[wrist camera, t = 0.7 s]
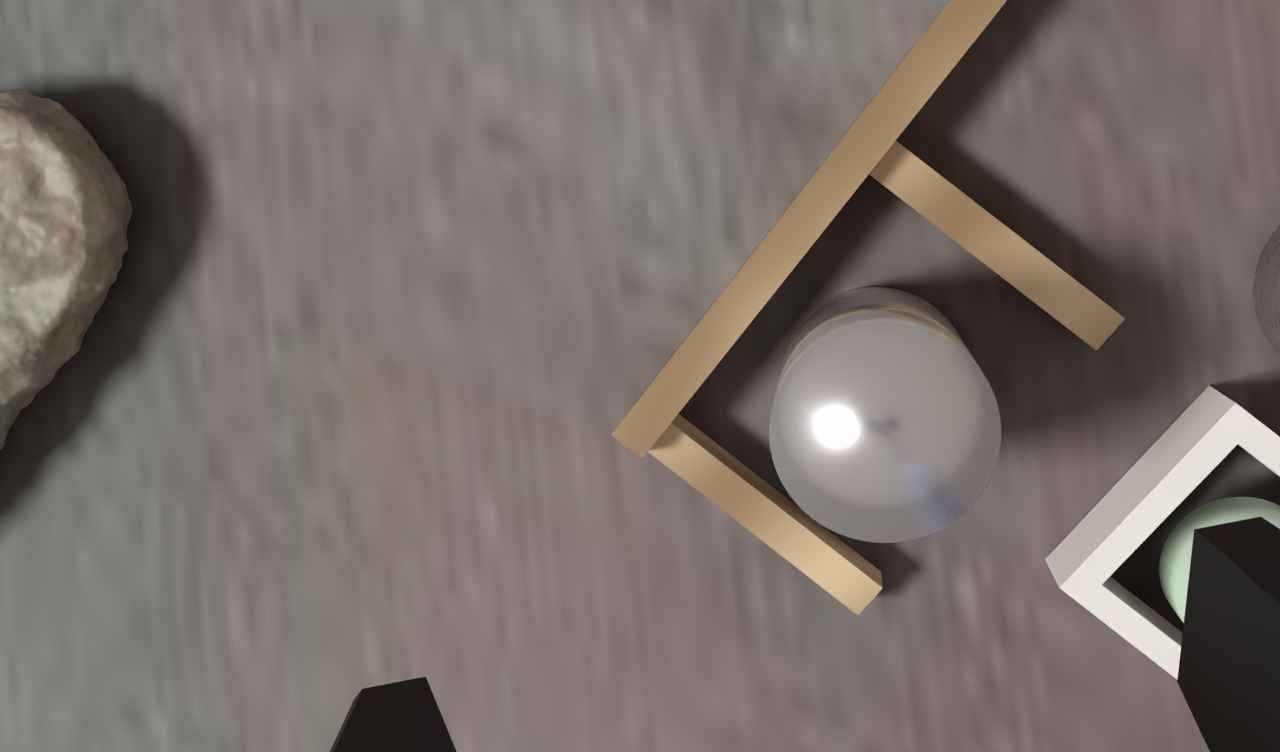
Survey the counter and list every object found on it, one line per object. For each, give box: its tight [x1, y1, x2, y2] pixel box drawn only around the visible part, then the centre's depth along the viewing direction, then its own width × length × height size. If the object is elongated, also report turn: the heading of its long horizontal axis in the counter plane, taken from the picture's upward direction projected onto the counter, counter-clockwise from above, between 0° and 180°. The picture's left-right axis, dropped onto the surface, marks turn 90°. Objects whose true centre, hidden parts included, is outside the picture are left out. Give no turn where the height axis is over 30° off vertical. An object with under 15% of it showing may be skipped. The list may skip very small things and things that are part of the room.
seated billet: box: [769, 287, 1001, 543], centre depth 27 cm, size 5×5×6 cm
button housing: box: [1045, 386, 1280, 679], centre depth 29 cm, size 6×6×2 cm
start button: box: [1159, 497, 1280, 623], centre depth 27 cm, size 4×4×2 cm
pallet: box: [612, 0, 1125, 615], centre depth 28 cm, size 8×19×2 cm, turn 143°
